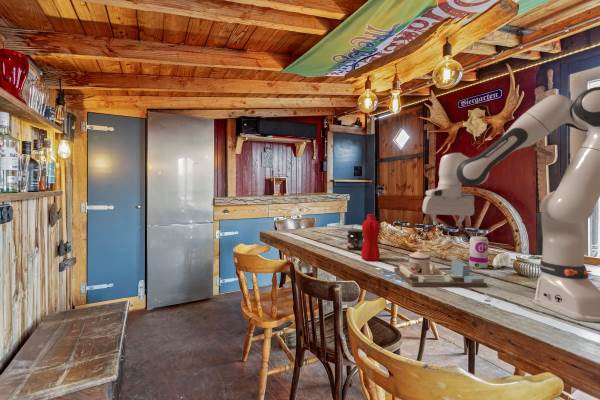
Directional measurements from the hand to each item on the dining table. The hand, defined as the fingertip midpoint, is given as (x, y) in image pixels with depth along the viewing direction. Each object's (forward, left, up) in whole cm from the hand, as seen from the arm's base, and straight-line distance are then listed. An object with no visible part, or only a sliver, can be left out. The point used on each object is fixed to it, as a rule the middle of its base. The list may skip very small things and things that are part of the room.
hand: (447, 225), depth 131 cm
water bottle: (+42, +21, -24) cm, 53 cm away
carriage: (+10, +1, -24) cm, 26 cm away
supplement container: (+71, +25, -24) cm, 79 cm away
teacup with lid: (+10, +6, -24) cm, 27 cm away
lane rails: (+6, +1, -24) cm, 25 cm away
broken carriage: (-2, -1, -24) cm, 24 cm away
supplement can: (+27, -29, -24) cm, 46 cm away
